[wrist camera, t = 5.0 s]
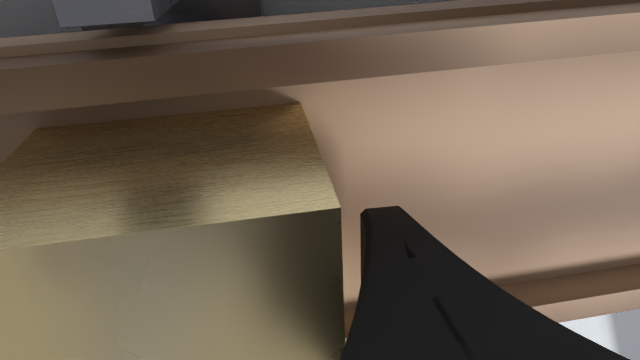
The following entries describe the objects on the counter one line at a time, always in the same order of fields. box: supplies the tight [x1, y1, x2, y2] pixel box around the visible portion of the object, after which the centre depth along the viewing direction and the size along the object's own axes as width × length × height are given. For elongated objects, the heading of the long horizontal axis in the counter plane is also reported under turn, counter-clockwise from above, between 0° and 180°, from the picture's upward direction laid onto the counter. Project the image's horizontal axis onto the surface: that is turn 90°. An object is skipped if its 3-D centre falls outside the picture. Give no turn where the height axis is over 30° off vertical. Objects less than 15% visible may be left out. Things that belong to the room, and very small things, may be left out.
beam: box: [0, 0, 640, 343], centre depth 11 cm, size 9×28×3 cm, turn 93°
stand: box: [52, 0, 263, 31], centre depth 13 cm, size 14×5×6 cm, turn 3°
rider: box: [0, 102, 345, 360], centre depth 9 cm, size 6×6×4 cm
